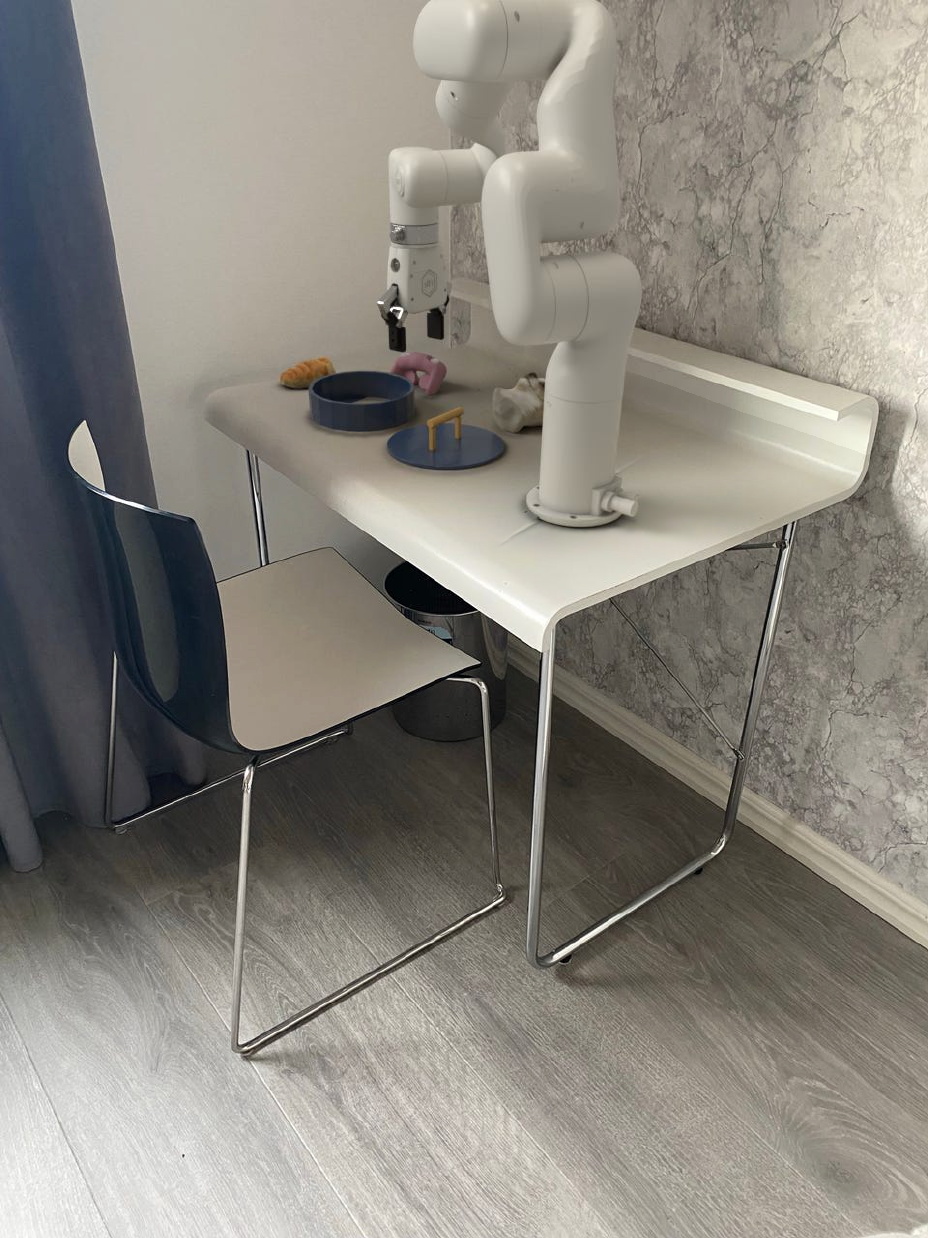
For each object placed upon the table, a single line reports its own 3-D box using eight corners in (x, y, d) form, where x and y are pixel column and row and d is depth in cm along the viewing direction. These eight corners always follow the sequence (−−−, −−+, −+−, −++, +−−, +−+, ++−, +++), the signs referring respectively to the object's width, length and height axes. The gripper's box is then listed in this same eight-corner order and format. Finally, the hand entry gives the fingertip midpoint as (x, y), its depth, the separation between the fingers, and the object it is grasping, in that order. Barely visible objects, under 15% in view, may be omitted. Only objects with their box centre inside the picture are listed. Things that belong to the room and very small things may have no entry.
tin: (435, 413, 159) (435, 384, 156) (366, 443, 148) (365, 411, 145) (360, 392, 167) (358, 364, 164) (289, 418, 156) (287, 388, 153)
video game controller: (443, 401, 168) (453, 360, 167) (429, 396, 164) (440, 354, 163) (395, 391, 172) (405, 350, 171) (380, 385, 168) (390, 344, 167)
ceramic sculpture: (475, 367, 150) (552, 358, 158) (471, 423, 154) (546, 411, 162) (518, 388, 143) (596, 376, 151) (512, 445, 147) (589, 431, 155)
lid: (526, 447, 147) (528, 410, 144) (455, 484, 135) (455, 444, 132) (436, 421, 156) (436, 386, 153) (362, 453, 144) (361, 416, 141)
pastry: (292, 393, 166) (290, 371, 164) (272, 383, 171) (270, 361, 169) (340, 382, 171) (339, 360, 169) (319, 373, 176) (318, 351, 174)
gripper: (396, 245, 148) (400, 360, 157) (467, 229, 160) (467, 337, 168) (359, 239, 152) (364, 351, 160) (431, 225, 164) (432, 330, 172)
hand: (417, 344), depth 164 cm, fingers open, 9 cm apart
